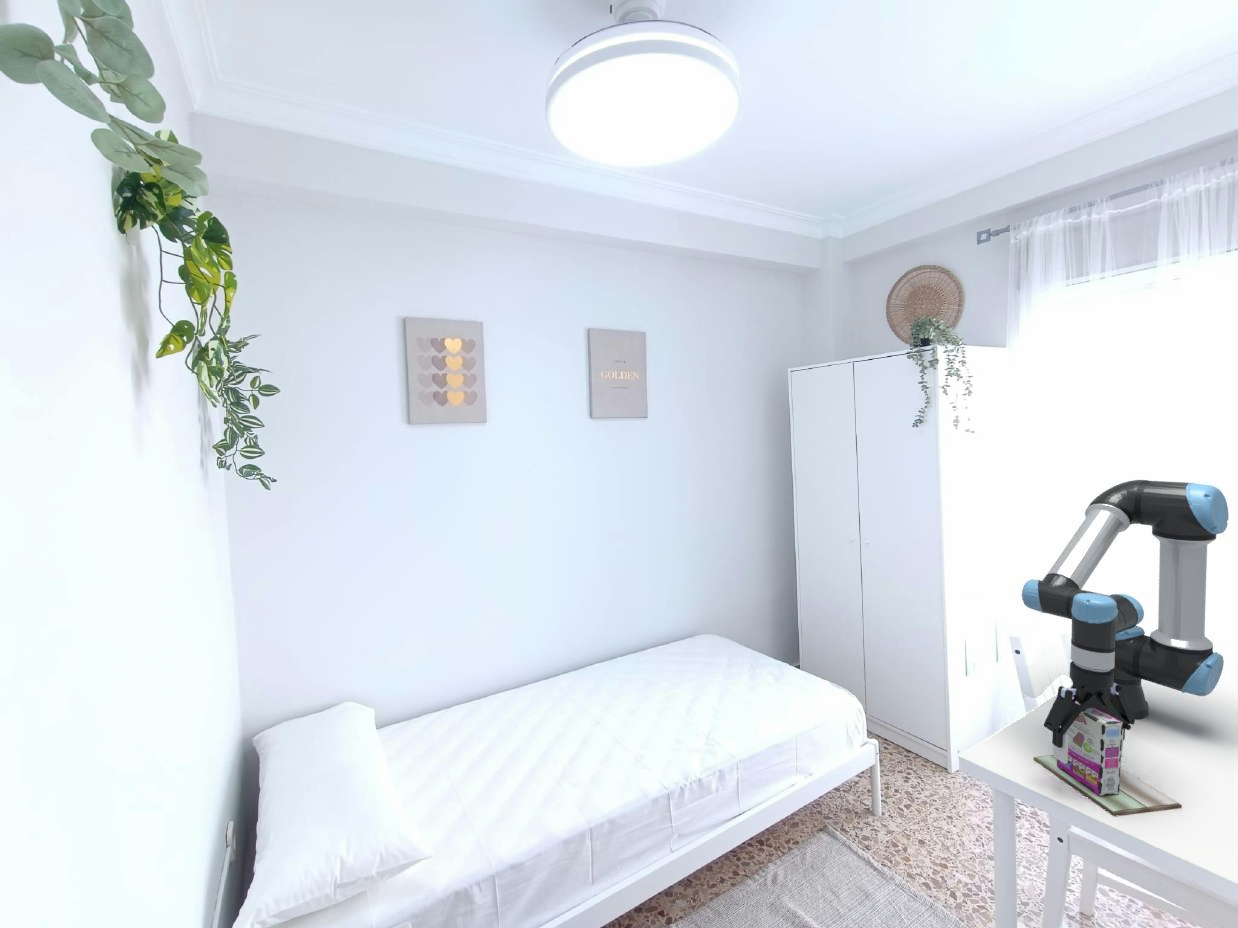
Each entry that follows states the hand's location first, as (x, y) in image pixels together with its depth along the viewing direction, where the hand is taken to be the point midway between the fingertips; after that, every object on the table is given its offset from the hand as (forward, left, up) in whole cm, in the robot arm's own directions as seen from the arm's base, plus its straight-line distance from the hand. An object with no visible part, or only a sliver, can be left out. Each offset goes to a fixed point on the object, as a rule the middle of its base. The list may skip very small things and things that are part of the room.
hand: (1087, 756), depth 130 cm
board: (-4, 0, -6) cm, 7 cm away
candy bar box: (0, 0, -6) cm, 6 cm away
